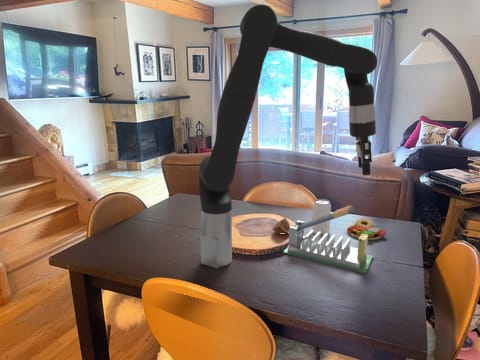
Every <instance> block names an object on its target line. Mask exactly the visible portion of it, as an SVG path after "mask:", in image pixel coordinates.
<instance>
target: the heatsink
mask: <svg viewBox="0 0 480 360" xmlns="http://www.w3.org/2000/svg"><path fill="white" fill-rule="evenodd" d="M303 223H305V221H302V220H297V221H296V223H295V226H296V225H297V224H303ZM304 231H305V229H302V230H299V231H298V228H296V227H294V226H291V225H290V228H289V233H288V245H287V248H286V249H284V250H283V253H282V254H285V255H289V256H292V257H297V258H300V259H304V260H309V261H312V262H315V263H318V264H319V263H320V264H324V265H328V266H332V267H336V268H338V269H343V270H347V271H351V272H354V273H359V274H363V275H366V273H367V272H368V269H369V267H370V265H371V263H372V261H373V259H372V258H374V255H371V254H367V250H368V241H369V240H368V235H366V234H361V236H360V237H359V239H358V244H357V245H358V246H357V247H353V246H351V241H352V240H351V238H350V237H348V238H347V240H346V242H345V243H343V241H344V240H343V238H344V236H340V237H339V239H338V240H337V241H336V234H332V235H331V237H330V238H329V240H328V236H329V233H326V234H325V235H322V238H321V235H320V233H321V232H318V233H317V234H314V233H313V230H312V229H311V230H310V231H309V232H308V233H307V234H306V235H304V234H305V233H304Z"/></svg>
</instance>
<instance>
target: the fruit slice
mask: <svg viewBox="0 0 480 360" xmlns="http://www.w3.org/2000/svg"><path fill="white" fill-rule="evenodd" d="M290 227H291V224H290V222H289V220H288V219H287V218H286V217H284V218H282V219H281V220H279V221H277V222H276V223H275V224H274V225H273V227H271V228H272V231H273V232H275V233H276V232H278V233H288V232H289V228H290ZM278 233H277V234H278ZM288 234H289V233H288Z"/></svg>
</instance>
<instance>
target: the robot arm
mask: <svg viewBox="0 0 480 360" xmlns="http://www.w3.org/2000/svg"><path fill="white" fill-rule="evenodd" d="M239 31H240V35H241V38H240V43H239V48H238V52H237V55H236V58H235V61H234V62H233V65H232V67H231V70H230V72H229V74H228V76H227V79H226V81H225V84H224V87H223V90H222V93H221V97H220V100H219V104H218V109H217V116H216V129H215V130H216V131H215V138H214V139H215V140H214V144H213V147H212V150H211V154H210V155H208V156H206V157H204V158H203V159H202V160H201V162H200V164H199V167H198V187H199V188H198V189H199V199H200V206H201V207H200V208H201V209H200V210H201V211H200V212H201V214H200V215H201V234H200V236H199V239H200V263H201V265H205V266H207V267H210V268H214V269H220V268H222V267H226V266H228V265H230V264H231V263H232V262H233V229H232V227H233V225H232V224H233V217H232V216H233V213H232V212H233V211H232V210H233V206H232V205H233V202H232V197H231V193H230V185H231V184H232V183H233V180H234V177H235V172H236V167H237V162H238V157H239V152H240V147H241V144H242V142H243V138H244V136H245V133H246V130H247V126H248V122H249V119H250V117H251V114H252V111H253V108H254V104H255V101H256V96H257V92H258V89H259V85H260V80H261V74H262V70H263V66H264V63H265V59H266V57H267V54H268V52H269V50H270V48H273V49H274V48H275V49H278V50H282V51H286V52H289V53H293V54H295V55H298V56H300V57H304V58H306V59H309V60H311V61H315V62H316V63H321V64H323V65H326V66H330V67H333V68H334V67H335V68H342V69H343V72H344V73H343V74H344V77H345V82H346V85H347V86H346V87H347V89H348V104H349V108H348V123H349V125H348V127H349V135H350V136H351V137H353V138H355V150H356V151H355V153H356V155H357V160H358V161H357V162H358V163H357V164H358V168H359V169H361V173H362V176H370V175H371V163H372V162H373V159H372V158H373V157H372V156H373V155H372V142H371V140H370V139H369V137H372V136H375V135H376V134H377V133H376V131H377V128H376V126H377V121H376V108H375V91H374V86H373V84H371V83H370V82H369V79H368V75H369V74H371V73H373V72H374V71H375V70H376V68H377V66H378V57H377V55H376V53H375V52H373V51H372V50H371V49H368V48H366V47H363V46H360V45H355V44H350V43H345V42H341V41H339V40H338V39H334V38H332V37H329V36H326V35H324V34H320V33H317V32H311V31H305V30H300V29H295V28H291V27H288V26H285V25H283V24H281V23H280V22H278V18H277V15H276V13H275V11H274V9H273V8H272V7H271V6H269V5H267V4H264V3H259V4H255V5H254V6H252V7H250V8H249V9H248V10H247V11H246V12H245V14H244V16H243V17H242V18H241V21H240V24H239ZM366 157H367V158H366Z"/></svg>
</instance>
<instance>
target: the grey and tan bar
mask: <svg viewBox="0 0 480 360" xmlns="http://www.w3.org/2000/svg"><path fill="white" fill-rule="evenodd" d="M354 210H355V208H354V206H352V205H351V204H350V205H347V206H344V207H341V208H339V209H338V208H337V209H336V210H335V211H334V212H332V213H331V214H329V215H327V216H324V217H321V218H318V219H315V220H312V219H311V220H309V221H307V222H304V223H303V224H297V225H296V224H295V225H294V226H293V227H296V228H298V231H299V230H302V229H304V230H305V229H308V228H310V227H311V228H312V226H314V225H317V224H320V223H323V222H326V221H329V220H330V221H333V220H335V219H337V218H340V217H341V218H342V217H343V216H347V215H349V214H352V213H353V211H354Z"/></svg>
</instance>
